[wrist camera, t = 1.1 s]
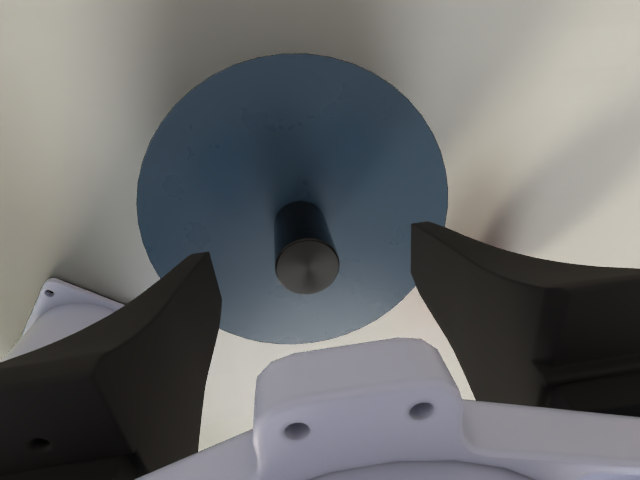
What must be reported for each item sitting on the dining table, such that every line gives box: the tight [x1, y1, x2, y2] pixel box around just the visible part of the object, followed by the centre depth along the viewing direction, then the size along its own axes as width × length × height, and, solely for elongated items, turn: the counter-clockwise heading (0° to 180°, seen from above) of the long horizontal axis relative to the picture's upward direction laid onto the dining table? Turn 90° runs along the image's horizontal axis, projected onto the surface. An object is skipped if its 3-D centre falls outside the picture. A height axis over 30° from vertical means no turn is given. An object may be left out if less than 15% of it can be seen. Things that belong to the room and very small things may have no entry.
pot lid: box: [136, 53, 448, 344], centre depth 16 cm, size 14×14×5 cm
